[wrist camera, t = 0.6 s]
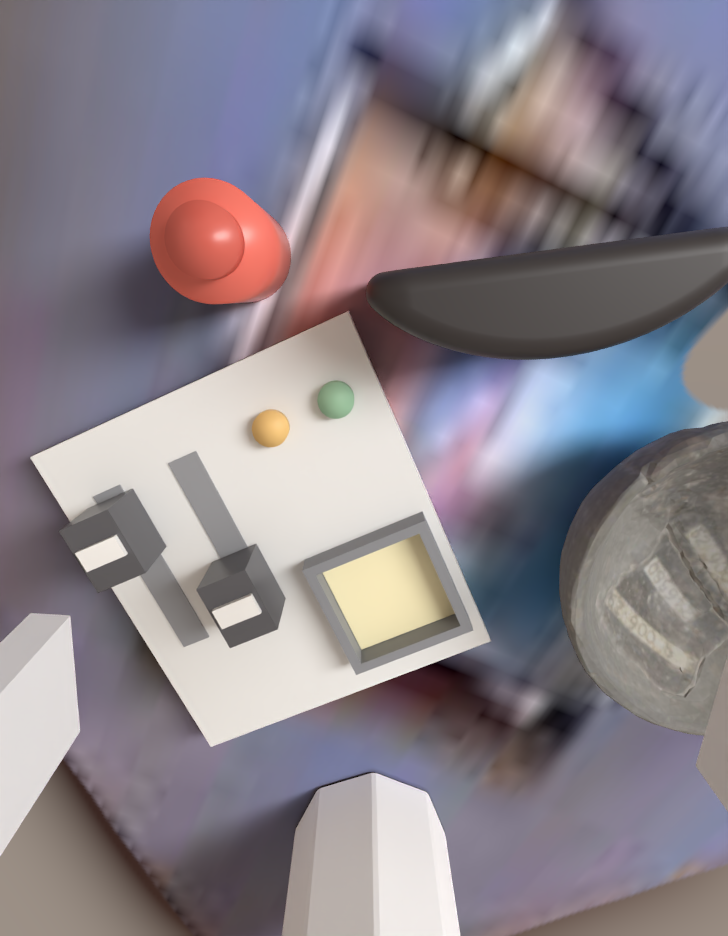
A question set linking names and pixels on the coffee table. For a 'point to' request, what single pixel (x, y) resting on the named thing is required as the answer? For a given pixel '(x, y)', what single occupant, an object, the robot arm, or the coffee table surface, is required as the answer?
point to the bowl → (654, 579)
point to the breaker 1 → (114, 540)
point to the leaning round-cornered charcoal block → (555, 295)
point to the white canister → (370, 864)
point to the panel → (279, 530)
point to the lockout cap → (218, 244)
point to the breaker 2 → (242, 596)
